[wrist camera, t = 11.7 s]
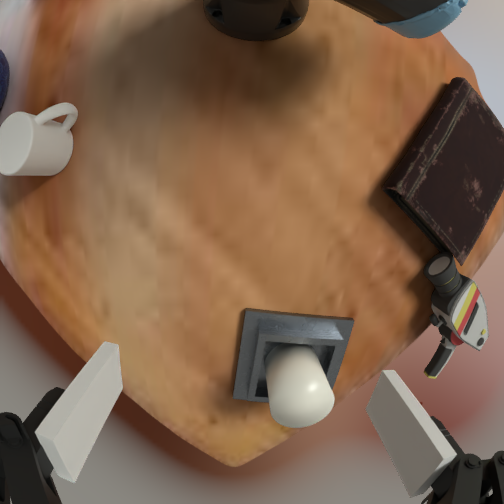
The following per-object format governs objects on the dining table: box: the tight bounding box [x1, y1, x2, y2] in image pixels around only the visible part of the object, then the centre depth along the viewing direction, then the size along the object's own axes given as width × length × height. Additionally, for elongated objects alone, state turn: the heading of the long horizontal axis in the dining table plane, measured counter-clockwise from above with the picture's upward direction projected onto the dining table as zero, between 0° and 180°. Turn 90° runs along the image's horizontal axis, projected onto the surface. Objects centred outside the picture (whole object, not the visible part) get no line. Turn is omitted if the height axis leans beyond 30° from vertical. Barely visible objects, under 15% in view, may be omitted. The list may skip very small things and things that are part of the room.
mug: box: [0, 103, 78, 176], centre depth 29 cm, size 8×10×12 cm
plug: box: [265, 343, 334, 428], centre depth 37 cm, size 8×8×10 cm
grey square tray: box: [233, 308, 354, 402], centre depth 41 cm, size 16×16×4 cm
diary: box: [382, 77, 504, 266], centre depth 35 cm, size 19×25×5 cm
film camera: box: [424, 252, 488, 379], centre depth 39 cm, size 7×19×15 cm
